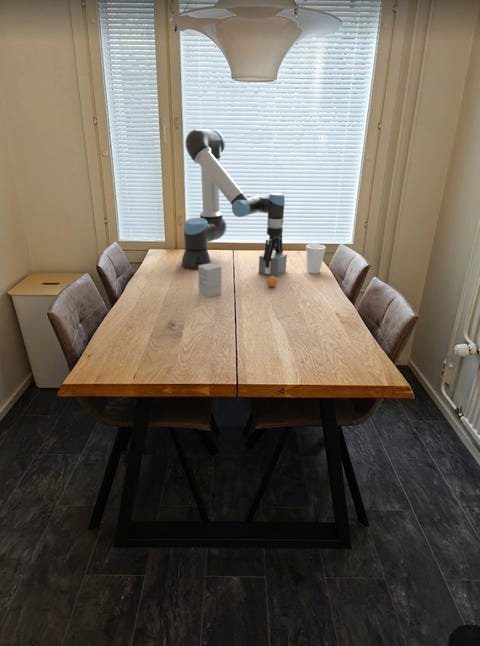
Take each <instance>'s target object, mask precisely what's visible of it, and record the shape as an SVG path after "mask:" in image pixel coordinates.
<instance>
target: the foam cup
mask: <svg viewBox="0 0 480 646" xmlns="http://www.w3.org/2000/svg"><path fill="white" fill-rule="evenodd" d="M305 252H306V253H305V254H306V256H305V257H306V271H307V273H310V274H319V273H320V272H321V267H322V264H323V259H324V255H325V252H326V246H325V245H323V244H317V243H308V244H307V245H305Z"/></svg>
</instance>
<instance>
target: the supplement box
mask: <svg viewBox="0 0 480 646" xmlns="http://www.w3.org/2000/svg"><path fill="white" fill-rule="evenodd" d="M198 268H199V269H198V293H199V294H201V295H202V296H204V297H206V298H211V297H216V296H220V295H222V267H221V266H220V265H218V264H216V263H213V262H211V263H209V264H204V265H199V266H198Z"/></svg>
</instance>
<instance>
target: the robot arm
mask: <svg viewBox="0 0 480 646" xmlns="http://www.w3.org/2000/svg"><path fill="white" fill-rule="evenodd" d="M185 148H186V150H187V151H186V152H187V154H188V155H189V157H190V158H191V159H192V161H193V162H194V163H195V164H198V165H199V166H200V169H201V175H200V177H201V196H202V197H201V201H202V202H201V203H202V211H201V212H200V214H199V217H192V218H188V219H187V220H186V221H184V225H183V226H184V227H183V233H184V234H183V235H184V252H183V256H182V259H181V266H182V267H183V268H184V269H185V268H186V269H189V270H199V268H198V266H199V265H204V264H209V263H212V260H211V257H210V253H209V251H208V245H209V244H208V243H209V242H212V241H214V240H219V239H220V238H222V237H223V236H224V235H225V234H226V231H227V221H226V220H225V218H224V217H223V213H222V212H221V210H220V192H221V193H222V194H223V195H224V197H225V198H226V200H227V201H228V202H229V204H231V211H232V213H233V215H234V216H235V217H237V218H242V217H247V216H249V215H253V214H255V213H265V214H267V221H266V222H267V223H266V224H267V225H266V226H267V227H266V235H268V236H269V238H268V239H266V240H265V245H264V253H263V254H264V257H263V260H264V261H265V273H266V274H270V271H271V261H270V259H271V256H272V252H276V253H281V254H284V248H283V231H284V229H283V226H284V222H285V221H284V215H285V213H284V212H285V204H286V203H285V194H283V193H281V192H270V193H269V194H268V196H263V195H257V194H248V195H245V193H244V192H243V191H242V190H241V189H240V187H239V186H238V185H237V183H235V181H234V180H233V179H232V177H231V176H230V174H229V173H228V172H227V171H226V170H225V168H224V167H223V165H221V163H220V161H221V160H222V154H223V152H224V150H225V148H226V140H225V138H224V135H223V134H222V132H221V131H219V129H218V130H217V129H214V128H204V129H203V128H202V129H201V128H197V129H195V128H194V129H193V130H191V131H190V132H188V134H187V136H186V139H185ZM266 274H265V275H266Z"/></svg>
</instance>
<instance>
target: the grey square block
mask: <svg viewBox="0 0 480 646" xmlns="http://www.w3.org/2000/svg"><path fill="white" fill-rule="evenodd" d="M258 256H259V259H258V274H262V275H267V276H274V277H276V278H277V277H279V276H281V275H283V274H284V273H286V270H287V257H288V254H287V253H282V254H281V253H276V252H275V251H273V252H272V256H271V259H270V261H271V271H270V274H266V273H265V261H264V260H263V257H264V253H262V254H260V255H258Z"/></svg>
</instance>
